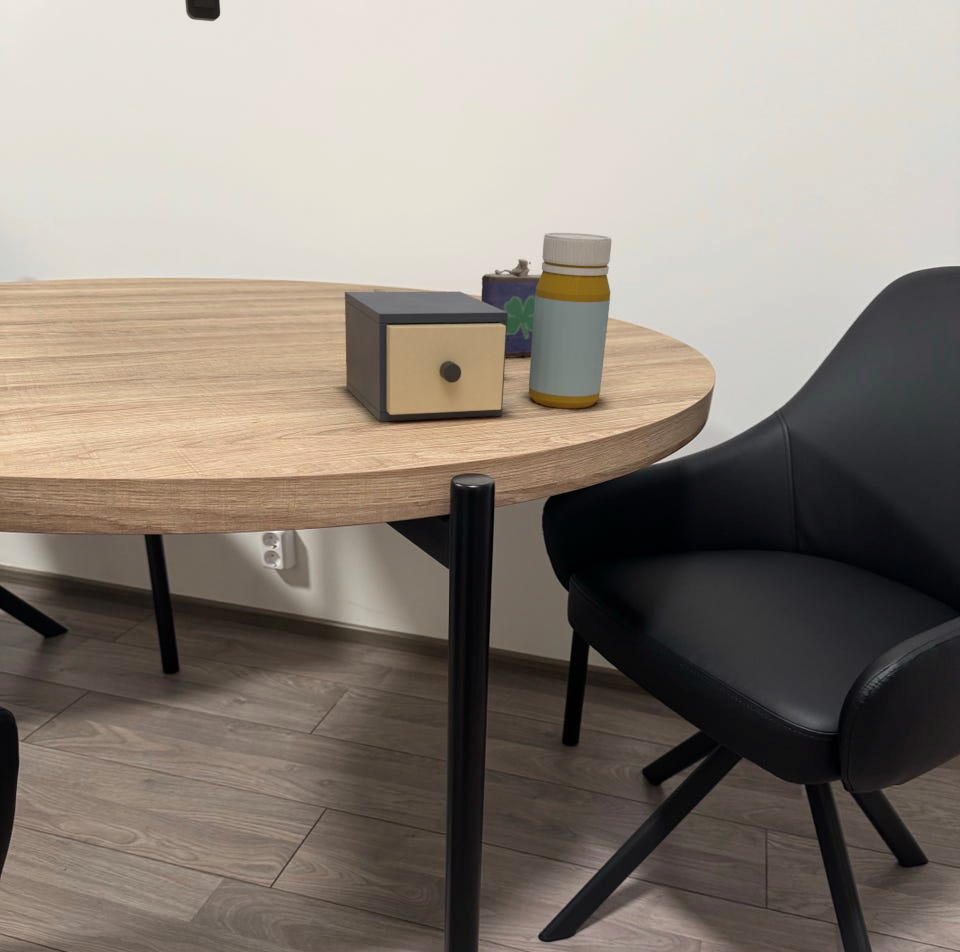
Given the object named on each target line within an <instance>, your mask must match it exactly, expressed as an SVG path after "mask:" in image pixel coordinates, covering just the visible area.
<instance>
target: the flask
mask: <svg viewBox="0 0 960 952" xmlns="http://www.w3.org/2000/svg"><path fill="white" fill-rule="evenodd" d="M517 261H518V264H517V266H515V267H514V268H512V269H503V270H499V269H495V270H494V272H493V273H485V274H484V275H482V277H481V301H483V302H485V303H487V304H489V305H492V306H494V307H496V308H498V309H501V310H503V311H505V312H507V313H508V319H507V334H506V351H505V358H517V357H518V358H520V357H531V347H532V333H533V319H534V305H535V294H536V287H537V284H538V282H539V279H540V277H541V274H529V273H530V271H531V269H529V266H528V265H531V263H532V262H531V261H528V260H527V259H524V258H518V259H517ZM505 272H507V273H505Z"/></svg>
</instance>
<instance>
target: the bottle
mask: <svg viewBox="0 0 960 952" xmlns="http://www.w3.org/2000/svg"><path fill="white" fill-rule="evenodd" d="M612 242H613V241H612V237H611V236H606V235H600V234H593V233H591V234H590V233H579V232H578V233H577V232H547V233H544V236H543V245H542V246H543V247H542V262H541V270H542V271H541V274H540V275H541V277H540V279H539V282H538V284H537V287H536V294H535V305H534V319H533V333H532V347H531V356H530V361H529V376H528V394H529V396H530V397H531V399H532V400H533V401H534V402H535V403H536V404H539V405H541V406H546V407H550V408H551V407H552V408H557V409H583V408H588V407H592V406H593V405H595V403H597V401H598V400H599V399H600V393H601V388H602V378H603V370H604V368H603V367H604V360H605V350H606V342H607V341H606V340H607V333H608V332H607V330H608V321H609V312H610V303H611V288H610V284H609V278H608V274H609V269H610V267H609V263H610V261H611V251H612Z"/></svg>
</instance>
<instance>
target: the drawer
mask: <svg viewBox="0 0 960 952" xmlns="http://www.w3.org/2000/svg"><path fill="white" fill-rule="evenodd" d="M505 333H506V326H505V325H503V324H501V323H498V324H488V323H486V322H464V323H394V324H388V325H387V412H388V413H389V414H390V415H395V414H417V413H438V412H459V411H480V410H500V409H501V404H502V386H503V368H504V351H505ZM503 387H504V386H503ZM502 405H503V404H502Z"/></svg>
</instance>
